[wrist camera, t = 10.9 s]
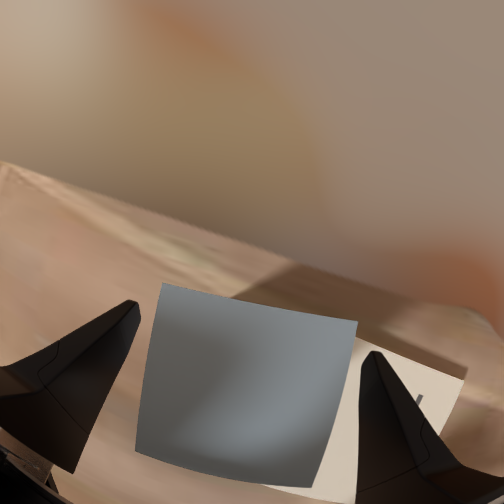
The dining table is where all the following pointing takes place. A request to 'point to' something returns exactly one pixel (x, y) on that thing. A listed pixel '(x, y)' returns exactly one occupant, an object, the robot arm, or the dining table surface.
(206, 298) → the slate-blue block
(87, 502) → the dining table surface
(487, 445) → the dining table surface
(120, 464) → the dining table surface
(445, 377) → the tile
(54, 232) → the dining table surface
